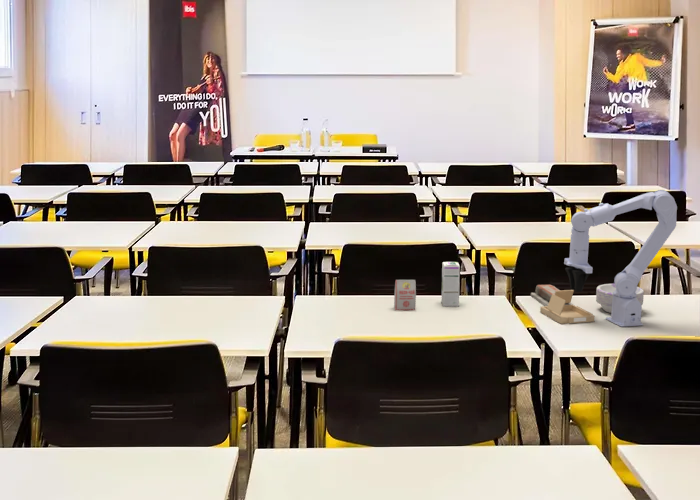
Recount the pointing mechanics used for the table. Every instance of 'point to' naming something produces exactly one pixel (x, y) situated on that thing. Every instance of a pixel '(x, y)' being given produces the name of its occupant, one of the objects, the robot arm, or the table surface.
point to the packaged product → (545, 294)
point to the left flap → (556, 304)
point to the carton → (569, 314)
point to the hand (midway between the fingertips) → (576, 290)
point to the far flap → (565, 295)
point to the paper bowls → (606, 296)
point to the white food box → (405, 295)
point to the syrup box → (450, 283)
